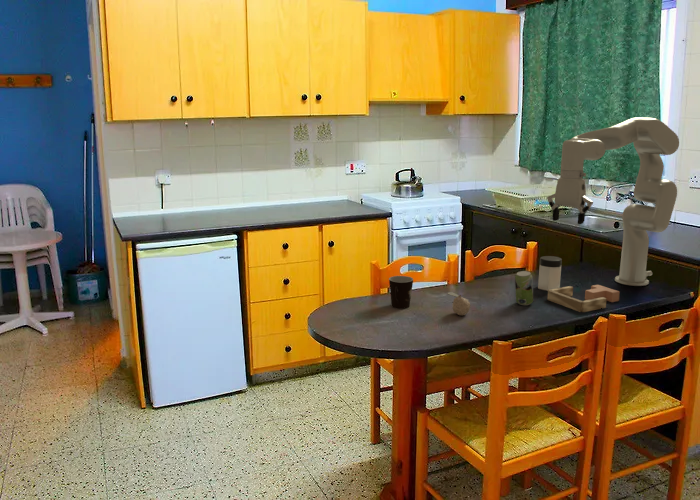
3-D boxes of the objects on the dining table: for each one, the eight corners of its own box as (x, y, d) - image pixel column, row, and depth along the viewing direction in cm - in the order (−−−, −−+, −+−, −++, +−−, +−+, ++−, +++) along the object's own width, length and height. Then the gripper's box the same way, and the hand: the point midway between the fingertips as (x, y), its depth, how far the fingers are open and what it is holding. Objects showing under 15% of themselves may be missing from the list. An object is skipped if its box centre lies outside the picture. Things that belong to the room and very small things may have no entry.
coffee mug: (399, 300, 236) (399, 274, 233) (417, 306, 230) (418, 279, 227) (377, 307, 228) (378, 280, 225) (396, 313, 222) (396, 285, 219)
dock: (569, 294, 243) (569, 286, 242) (605, 307, 228) (606, 298, 227) (545, 299, 238) (546, 290, 237) (581, 312, 223) (582, 302, 222)
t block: (597, 293, 245) (598, 284, 244) (618, 300, 236) (619, 291, 235) (578, 297, 240) (578, 288, 239) (599, 304, 232) (600, 295, 231)
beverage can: (536, 303, 233) (538, 271, 230) (526, 308, 227) (528, 275, 225) (520, 300, 237) (522, 268, 234) (510, 304, 231) (512, 272, 229)
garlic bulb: (447, 313, 221) (448, 291, 220) (460, 310, 225) (461, 288, 223) (461, 318, 216) (462, 296, 214) (474, 315, 220) (475, 292, 218)
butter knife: (451, 291, 246) (445, 292, 245) (494, 308, 226) (488, 310, 225) (451, 292, 247) (445, 293, 245) (494, 310, 226) (488, 311, 225)
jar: (564, 288, 251) (567, 258, 248) (552, 292, 246) (555, 262, 243) (545, 283, 258) (547, 254, 255) (532, 287, 253) (534, 257, 250)
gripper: (599, 176, 227) (595, 223, 231) (554, 172, 239) (551, 217, 243) (589, 177, 222) (585, 226, 225) (544, 173, 234) (541, 220, 238)
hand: (567, 221), depth 234 cm, fingers open, 9 cm apart
